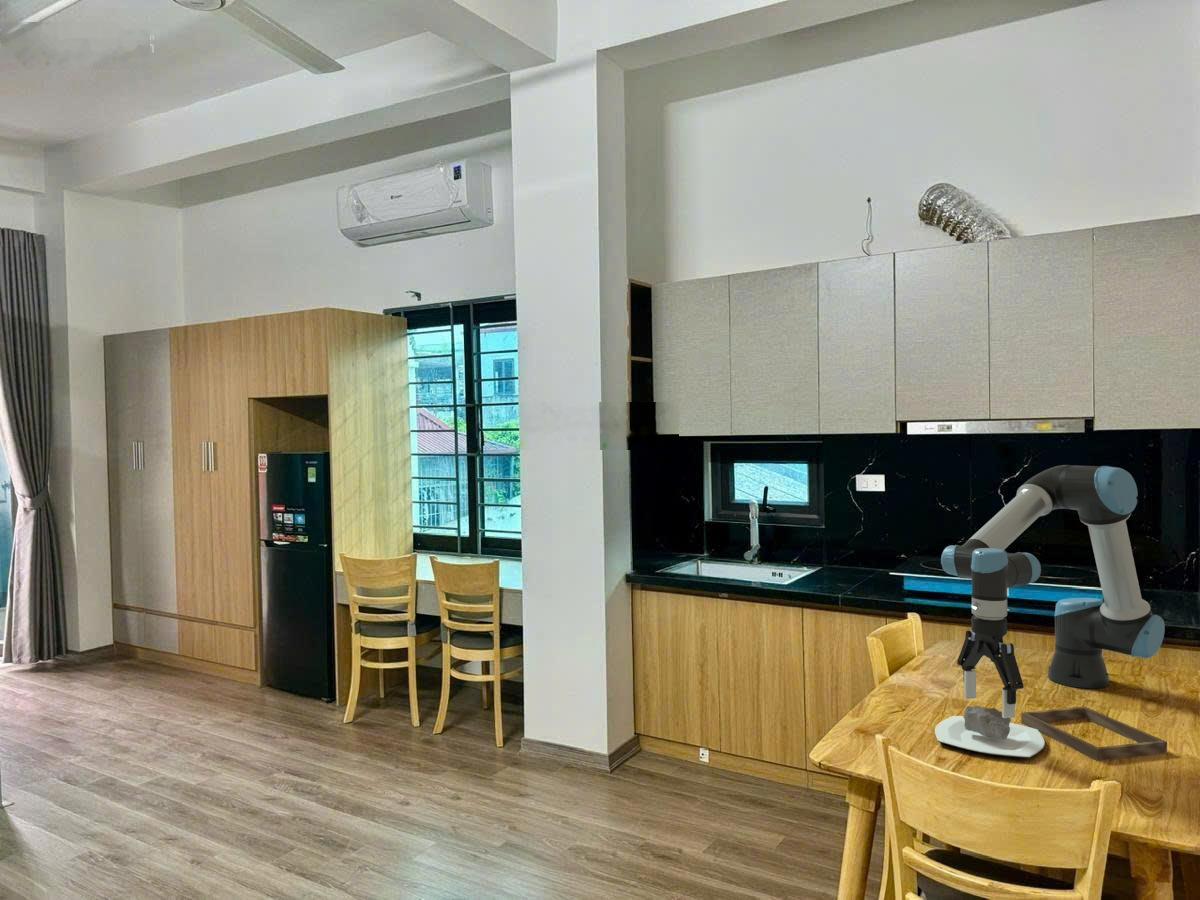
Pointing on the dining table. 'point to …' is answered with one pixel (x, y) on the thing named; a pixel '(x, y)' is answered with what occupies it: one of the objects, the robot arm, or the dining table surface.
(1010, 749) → the plate
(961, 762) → the dining table surface
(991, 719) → the stone
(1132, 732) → the empty rectangular frame
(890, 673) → the dining table surface
